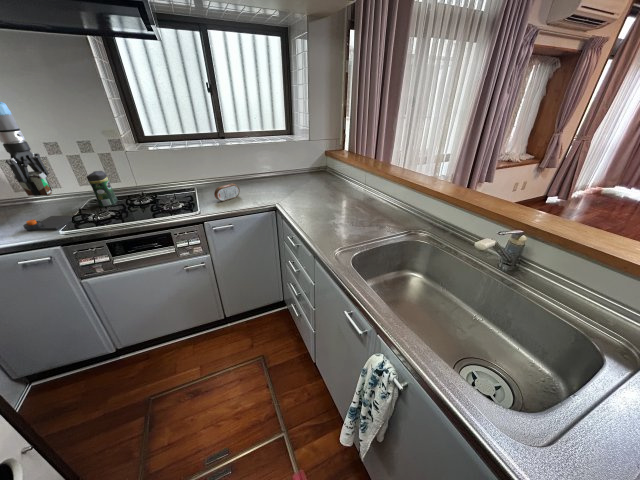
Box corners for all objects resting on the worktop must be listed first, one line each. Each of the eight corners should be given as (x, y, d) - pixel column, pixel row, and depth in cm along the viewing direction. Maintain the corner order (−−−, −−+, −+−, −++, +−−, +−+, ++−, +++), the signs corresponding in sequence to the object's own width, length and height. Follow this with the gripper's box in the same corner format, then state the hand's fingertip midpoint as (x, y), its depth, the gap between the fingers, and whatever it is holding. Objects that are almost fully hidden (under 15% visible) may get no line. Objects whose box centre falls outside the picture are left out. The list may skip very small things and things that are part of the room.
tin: (238, 195, 163) (236, 181, 158) (241, 196, 161) (239, 182, 156) (215, 202, 153) (212, 187, 149) (218, 203, 152) (215, 189, 147)
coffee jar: (104, 202, 156) (89, 170, 146) (119, 200, 158) (106, 169, 148) (97, 208, 148) (82, 175, 138) (114, 206, 150) (100, 173, 140)
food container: (62, 191, 129) (51, 170, 124) (51, 195, 124) (39, 174, 119) (36, 191, 129) (25, 170, 124) (24, 195, 124) (12, 174, 119)
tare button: (26, 225, 124) (23, 222, 123) (32, 222, 127) (30, 219, 126) (32, 225, 124) (30, 222, 123) (39, 222, 127) (37, 219, 126)
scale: (23, 232, 124) (19, 226, 123) (50, 218, 137) (47, 213, 136) (55, 231, 124) (52, 225, 123) (80, 217, 137) (77, 212, 136)
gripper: (1, 146, 107) (33, 200, 118) (41, 138, 122) (66, 186, 134) (-18, 146, 106) (16, 200, 118) (25, 138, 122) (51, 187, 134)
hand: (43, 193), depth 126 cm, fingers closed on food container, 5 cm apart
